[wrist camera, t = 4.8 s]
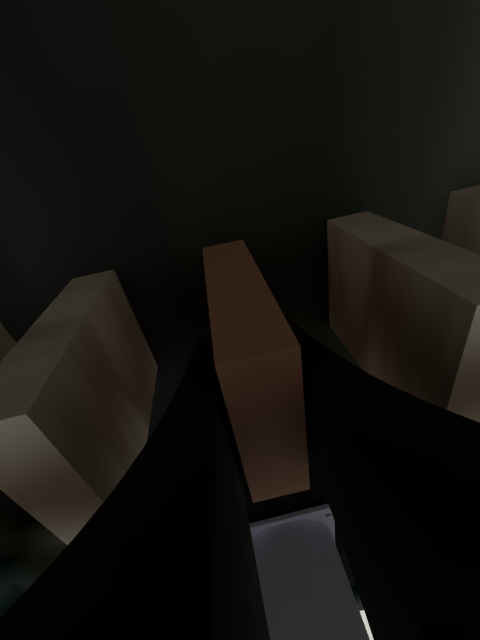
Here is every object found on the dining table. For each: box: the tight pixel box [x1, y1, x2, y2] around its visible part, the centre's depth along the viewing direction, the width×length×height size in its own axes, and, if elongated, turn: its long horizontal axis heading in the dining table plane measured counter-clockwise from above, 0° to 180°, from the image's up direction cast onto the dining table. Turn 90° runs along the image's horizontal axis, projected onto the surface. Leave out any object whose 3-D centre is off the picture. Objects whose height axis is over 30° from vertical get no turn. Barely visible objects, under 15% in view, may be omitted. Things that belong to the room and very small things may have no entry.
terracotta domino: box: [202, 240, 310, 503], centre depth 10 cm, size 5×2×7 cm, turn 10°
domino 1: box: [0, 269, 158, 545], centre depth 9 cm, size 5×2×7 cm, turn 11°
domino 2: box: [327, 211, 480, 422], centre depth 10 cm, size 5×2×7 cm, turn 11°
